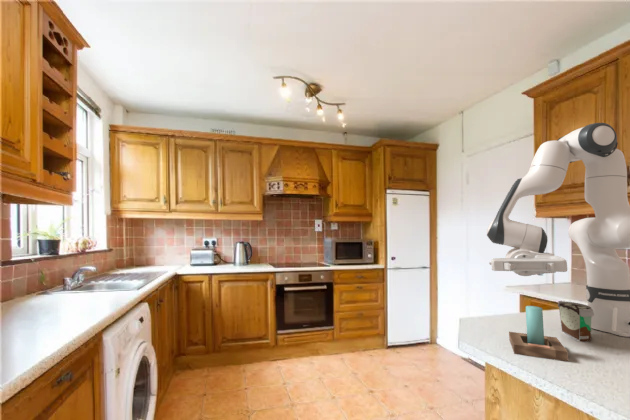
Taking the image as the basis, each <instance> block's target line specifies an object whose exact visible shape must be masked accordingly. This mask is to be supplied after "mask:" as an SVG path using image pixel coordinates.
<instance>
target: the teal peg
mask: <svg viewBox="0 0 630 420" xmlns="http://www.w3.org/2000/svg"><path fill="white" fill-rule="evenodd" d="M525 317H526V318H525V321H526V322H525V323H526V334H527V342H528V343H531V344H538V345H544V336H545V332H544V313H543V307H541V306H540V307H539V306H535V305H526V306H525Z"/></svg>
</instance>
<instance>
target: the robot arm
mask: <svg viewBox="0 0 630 420" xmlns="http://www.w3.org/2000/svg"><path fill="white" fill-rule="evenodd" d="M617 135H618V134H617V132H616V131H615V129H614V128H613V126H612V125H610V124H608V123H605V122H593V123H590V124H587V125H585V126H582V127H579V128H577V129H575V130H573V131H570V132H569V133H567V134H566V135H564V136H561V137H559V138H558V139H557V140H556V139H555V140H547V141H545V142H542V144H540V146H539V147H538V148H537V150H536V152H535V154H534V157H533V158H532V161H531V164H530V167H529V169H528V172H526V174H525V175H524V176H523V177H521V178H517V180H515V181H514V183H513V184H512V185H511V187H510V189H509V191H508V192H507V194H506V195H505V198H504V199H503V202H502V203H501V205H500V207H499V208H498V210H497V212H496V215H495V217H494V218H493V219H492V220H491V222H489V224H488V227H487V229H486V236H487V238H488V239H489V241H491V243H493V244H495V245H502V246H507V247H511V249H510V250H508V251H507V253H506V255H505V257H501V258H500V257H499V258H497V257H495V258H491V260H490V261H489V263H488V264H489V265H490V266H491V270H492V271H494V272H514V274H515V275H518V276H521V277H531V276H534V275H541V274H542V275H543V274H556V273H557V272H558V273H559V272H560V273H566V272H568V263H567V261H568V260H566V259H565V258H563V257H561V256H558V255H555V253H553V252H545V251H546V248H547V245H548V235H547V233H546V231H545V230H544V228H543V227H541V226H537V225H533V224H529V223H524V222H521V221H515V220H511V219H510V217H509V216H510V215H511V213H512V211H513V209H514V208H515V205H516V204H517V203H518V200H519V199H522V198H524V197H527V196H537V195H545V194H549V193H552V192H555V191H556V190H558V189H559V188H560V187H562V185H563V183H564V180H565V178H566V176H567V172H568V169H569V164H572V163H576V162H578V161H581V162H582V163H583V166H584V167H585V173H584V174H585V175H584V200H585V202H586V203H587V204H588V205H590V206H591V208H592V210H593V213H594V216H595V217H585V218H581V219H578V220H575V221H573V222H572V223H571V224H570V225H569V227H568V235H569V238H570V239H571V240H572V241H573V242H574V243H575V244H576V245H577V247H578V249H579V251H580V253H581V255H582V258H583V261H584V265H585V271H586V280H587V281H586V282H587V283H586V285H585V287H586V288H585V297H586V300H587V306H590V307H591V308H592V310H593V312H594V316H591V329H594V330H598V331H601V332H605V333H609V334H612V335H617V336H618V337H619V336H620V337H626V338H628V337H629V338H630V267H629V265H628V263H626V262H625V261H624V260H623V259H622V258H621V257H620V256H619V254H618V252H617V249H618V250H619V249H623V250H624V249H630V203H629V198H628V197H629V196H628V169H627V168H628V167H627V164H626V163H627V162H626V158H625V155H624V153H623V151H622V150H620V149H618V145H619V143H618V137H617Z"/></svg>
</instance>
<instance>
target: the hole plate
mask: <svg viewBox="0 0 630 420" xmlns="http://www.w3.org/2000/svg"><path fill="white" fill-rule="evenodd" d="M508 336H509V337H508V338H509V339H508V340H509V342H510V345H511V348H512V352H513V354H514V355H515V354H516V355H520V356H528V357H535V358H540V359H541V358H543V359H549V360H554V359H555V360H556V361H562V362H569V352H568V350H567V349H566V348H565V347H564V345H563V344H562V342H560V340H559V339H558V338H557V337H556V336H547V335H544V345H538V344H531V343H528V342H527V333H523V332H515V331H514V332H513V331H508Z"/></svg>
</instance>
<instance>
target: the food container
mask: <svg viewBox="0 0 630 420" xmlns="http://www.w3.org/2000/svg"><path fill="white" fill-rule="evenodd" d="M557 307H558V310H559V319H560V326H561V328H560V329H561V332H562V333H563V332H564V333H563V334H566V335H568V336H569V337H571V338H573V339H574V340H577V341H578V342H590V341H591V339H592V336H591V335H592V328H591V316H594V312H593V310H592V308H591V307H590V306H588V304H583V303H579V302H571V301H566V300H565V301H562V300H560V301H559V300H558V303H557Z"/></svg>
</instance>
